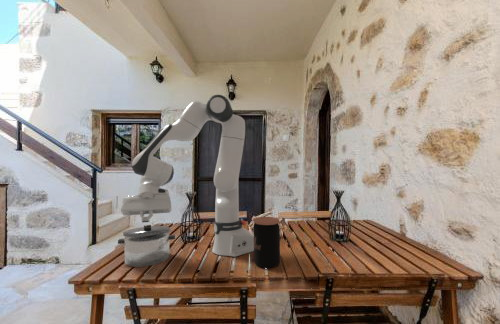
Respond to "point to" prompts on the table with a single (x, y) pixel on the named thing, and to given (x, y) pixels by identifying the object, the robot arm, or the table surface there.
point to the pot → (146, 249)
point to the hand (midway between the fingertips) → (145, 221)
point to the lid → (146, 231)
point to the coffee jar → (266, 242)
